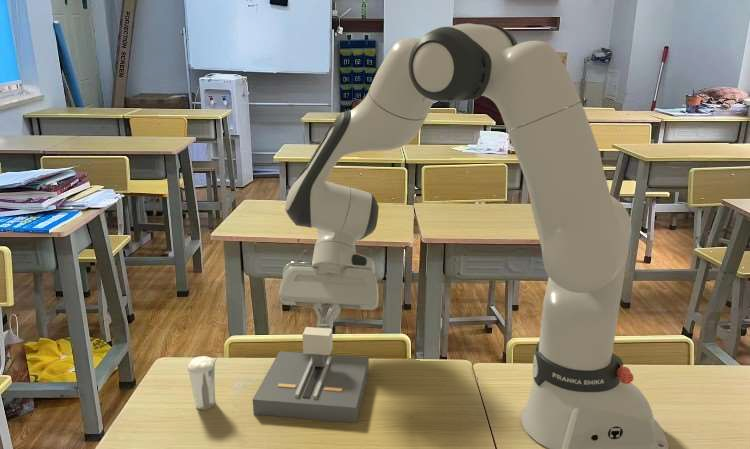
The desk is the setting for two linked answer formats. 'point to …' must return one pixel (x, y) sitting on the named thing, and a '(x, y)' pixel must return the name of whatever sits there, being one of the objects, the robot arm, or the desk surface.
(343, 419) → the fader console
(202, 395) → the milkshake
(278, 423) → the desk surface
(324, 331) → the fader tab
